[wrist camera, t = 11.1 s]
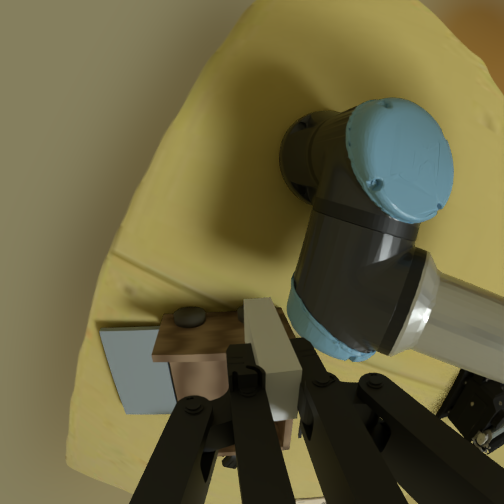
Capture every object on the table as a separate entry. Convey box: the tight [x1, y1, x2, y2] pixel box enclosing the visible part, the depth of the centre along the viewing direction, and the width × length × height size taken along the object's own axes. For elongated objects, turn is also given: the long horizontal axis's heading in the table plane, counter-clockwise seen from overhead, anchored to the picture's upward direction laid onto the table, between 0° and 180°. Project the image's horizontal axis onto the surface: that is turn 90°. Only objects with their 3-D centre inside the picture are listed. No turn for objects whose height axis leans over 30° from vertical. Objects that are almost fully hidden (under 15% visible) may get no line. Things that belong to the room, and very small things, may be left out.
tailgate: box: [99, 326, 177, 414], centre depth 48 cm, size 2×20×11 cm
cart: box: [151, 305, 296, 456], centre depth 46 cm, size 20×26×12 cm
